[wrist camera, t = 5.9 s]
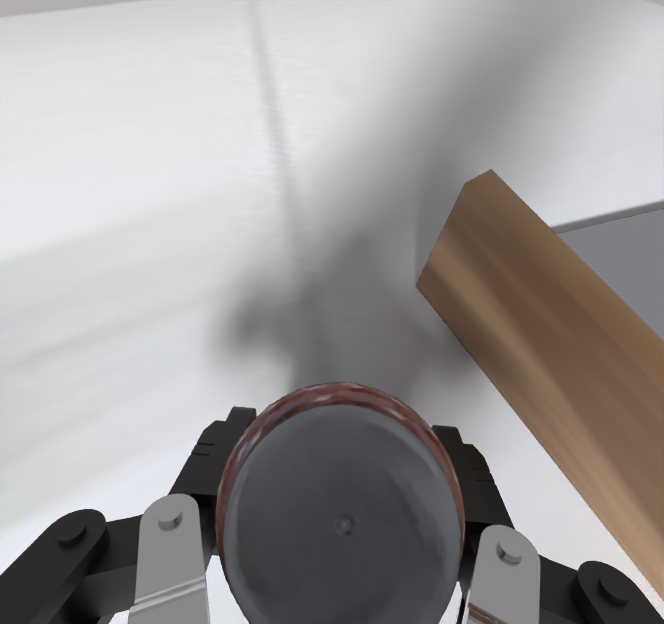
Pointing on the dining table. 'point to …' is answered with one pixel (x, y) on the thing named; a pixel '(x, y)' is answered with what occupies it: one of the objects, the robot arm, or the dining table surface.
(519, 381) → the walnut screen
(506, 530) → the robot arm
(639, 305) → the charcoal pad
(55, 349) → the dining table surface
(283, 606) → the supplement bottle
